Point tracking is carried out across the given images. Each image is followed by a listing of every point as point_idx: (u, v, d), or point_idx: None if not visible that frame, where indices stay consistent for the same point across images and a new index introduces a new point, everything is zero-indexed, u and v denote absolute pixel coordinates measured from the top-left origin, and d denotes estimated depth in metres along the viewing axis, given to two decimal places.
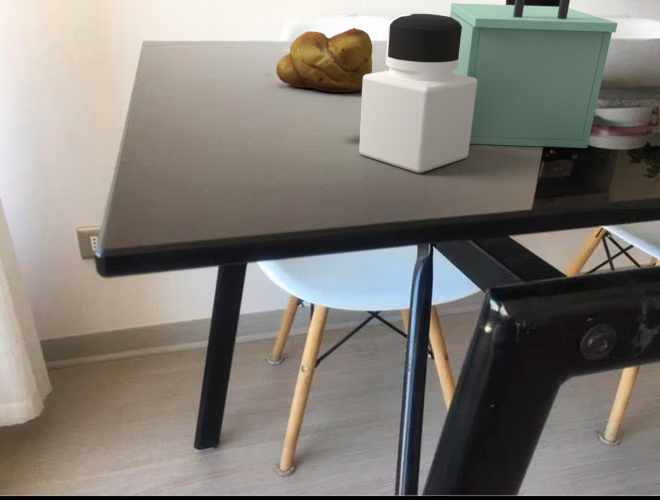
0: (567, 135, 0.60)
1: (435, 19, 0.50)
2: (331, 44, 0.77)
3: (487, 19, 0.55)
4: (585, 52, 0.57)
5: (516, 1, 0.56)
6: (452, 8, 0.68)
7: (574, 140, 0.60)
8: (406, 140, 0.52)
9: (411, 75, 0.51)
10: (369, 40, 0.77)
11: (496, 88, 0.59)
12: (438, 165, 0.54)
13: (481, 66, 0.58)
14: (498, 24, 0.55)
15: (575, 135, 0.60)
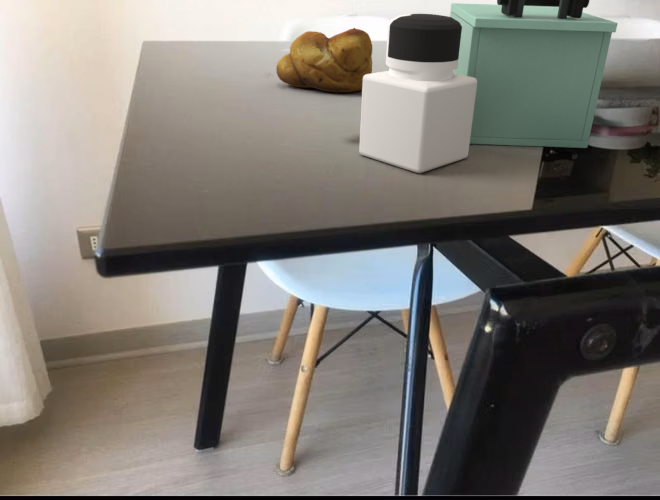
0: (567, 135, 0.60)
1: (435, 19, 0.50)
2: (331, 44, 0.77)
3: (487, 19, 0.55)
4: (585, 52, 0.57)
5: None
6: (452, 8, 0.68)
7: (574, 140, 0.60)
8: (406, 140, 0.52)
9: (411, 75, 0.51)
10: (369, 40, 0.77)
11: (496, 88, 0.59)
12: (438, 165, 0.54)
13: (481, 66, 0.58)
14: (498, 24, 0.55)
15: (575, 135, 0.60)
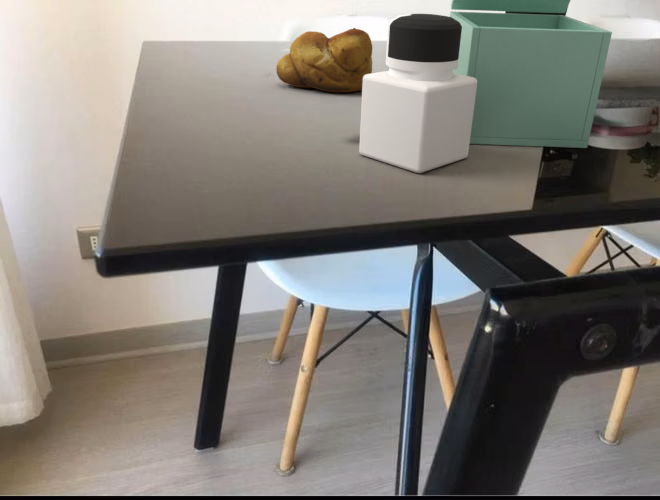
0: (567, 135, 0.60)
1: (435, 19, 0.50)
2: (331, 44, 0.77)
3: None
4: (585, 52, 0.57)
5: None
6: None
7: (574, 140, 0.60)
8: (406, 140, 0.52)
9: (411, 75, 0.51)
10: (369, 40, 0.77)
11: (496, 88, 0.59)
12: (438, 165, 0.54)
13: (481, 66, 0.58)
14: None
15: (575, 135, 0.60)
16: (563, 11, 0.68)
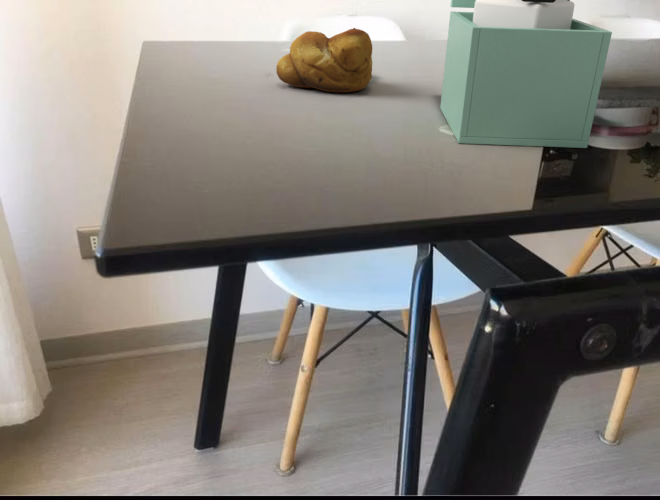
0: (567, 135, 0.60)
1: None
2: (331, 44, 0.77)
3: None
4: (585, 52, 0.57)
5: None
6: None
7: (574, 140, 0.60)
8: None
9: None
10: (369, 40, 0.77)
11: (496, 88, 0.59)
12: None
13: (481, 66, 0.58)
14: None
15: (575, 135, 0.60)
16: None
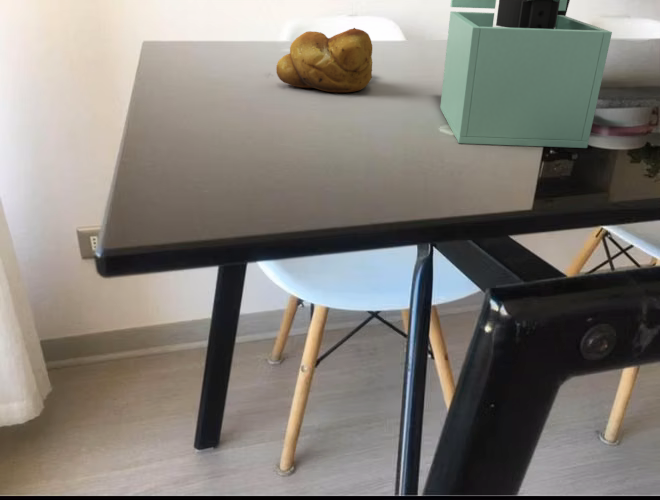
0: (567, 135, 0.60)
1: None
2: (331, 44, 0.77)
3: None
4: (585, 52, 0.57)
5: None
6: None
7: (574, 140, 0.60)
8: None
9: None
10: (369, 40, 0.77)
11: (496, 88, 0.59)
12: None
13: (481, 66, 0.58)
14: None
15: (575, 135, 0.60)
16: (563, 8, 0.68)
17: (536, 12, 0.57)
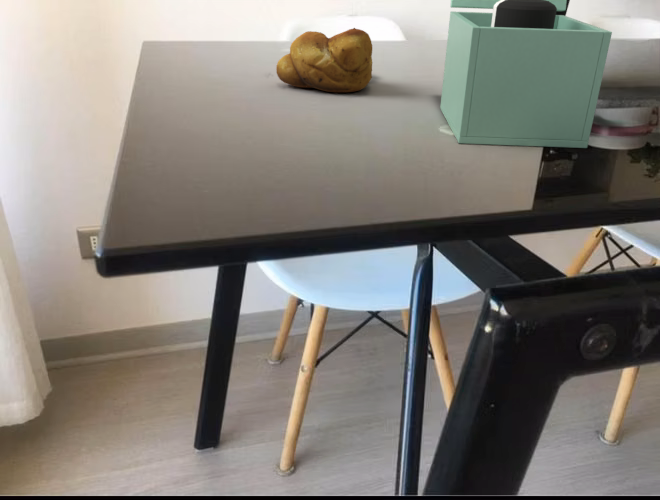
0: (567, 135, 0.60)
1: (537, 1, 0.60)
2: (331, 44, 0.77)
3: None
4: (585, 52, 0.57)
5: None
6: None
7: (574, 140, 0.60)
8: None
9: None
10: (369, 40, 0.77)
11: (496, 88, 0.59)
12: None
13: (481, 66, 0.58)
14: None
15: (575, 135, 0.60)
16: (563, 7, 0.68)
17: None
